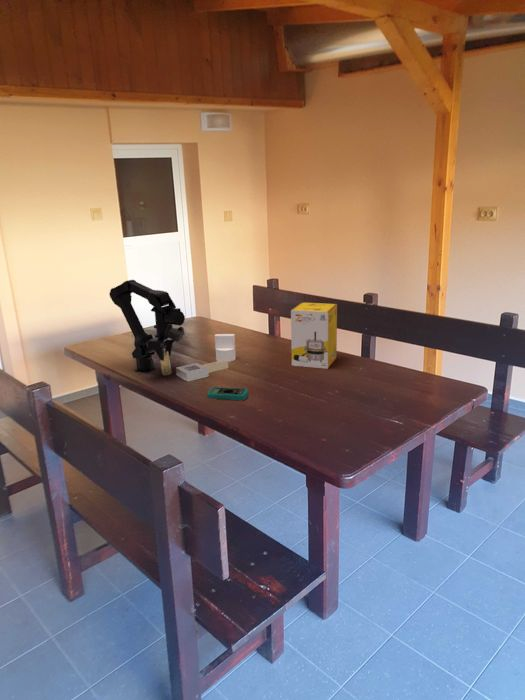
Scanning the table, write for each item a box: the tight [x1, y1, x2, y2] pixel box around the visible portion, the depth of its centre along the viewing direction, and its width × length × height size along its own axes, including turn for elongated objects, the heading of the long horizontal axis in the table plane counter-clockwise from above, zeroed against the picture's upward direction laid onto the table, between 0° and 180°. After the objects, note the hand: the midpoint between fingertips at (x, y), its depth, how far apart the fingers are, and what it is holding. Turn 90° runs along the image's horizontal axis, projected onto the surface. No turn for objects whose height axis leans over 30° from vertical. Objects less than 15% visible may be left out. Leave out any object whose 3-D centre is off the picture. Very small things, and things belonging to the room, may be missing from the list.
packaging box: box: [290, 302, 338, 370], centre depth 238 cm, size 16×16×25 cm
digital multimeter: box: [206, 386, 249, 401], centre depth 204 cm, size 7×15×3 cm, turn 79°
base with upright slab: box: [214, 333, 237, 363], centre depth 246 cm, size 9×9×12 cm
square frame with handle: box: [175, 360, 229, 382], centre depth 229 cm, size 10×22×4 cm, turn 125°
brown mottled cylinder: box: [159, 349, 172, 376], centre depth 229 cm, size 4×4×10 cm
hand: (165, 358), depth 228 cm, fingers open, 6 cm apart
